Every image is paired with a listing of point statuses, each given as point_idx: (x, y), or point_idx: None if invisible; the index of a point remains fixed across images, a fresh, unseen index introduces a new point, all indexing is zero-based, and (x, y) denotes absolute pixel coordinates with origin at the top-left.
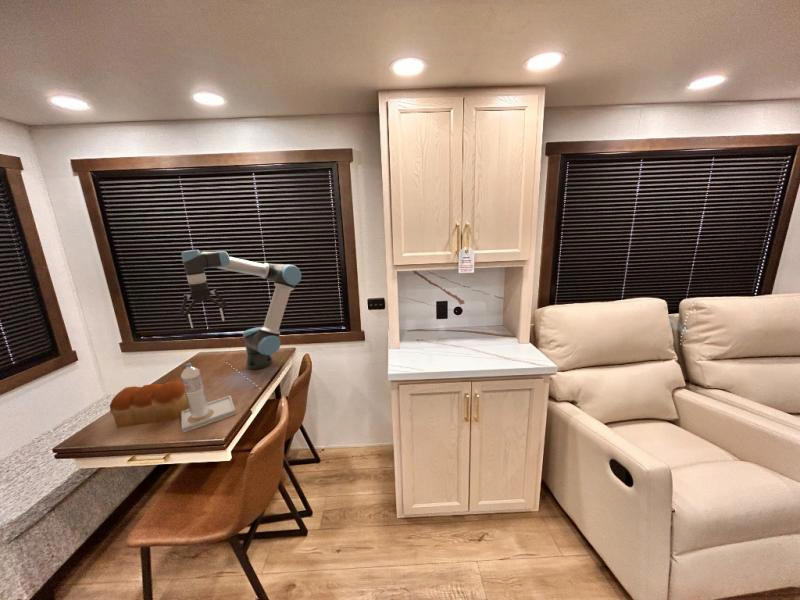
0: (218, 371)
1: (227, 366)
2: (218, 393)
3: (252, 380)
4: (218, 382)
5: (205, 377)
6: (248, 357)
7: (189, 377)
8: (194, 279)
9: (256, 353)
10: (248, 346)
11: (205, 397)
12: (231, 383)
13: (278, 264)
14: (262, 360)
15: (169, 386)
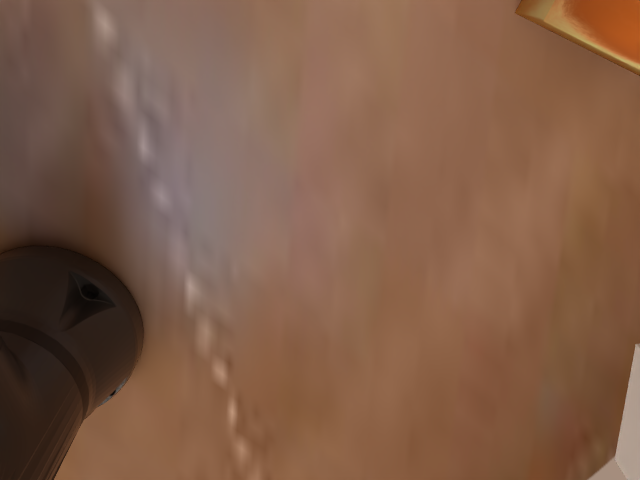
0: (311, 390)
1: (256, 427)
2: (341, 39)
3: (112, 84)
4: (325, 222)
5: (389, 355)
6: (90, 349)
7: None
8: None
9: (7, 326)
10: (30, 393)
11: None
12: (250, 143)
13: None
14: (3, 278)
15: None
